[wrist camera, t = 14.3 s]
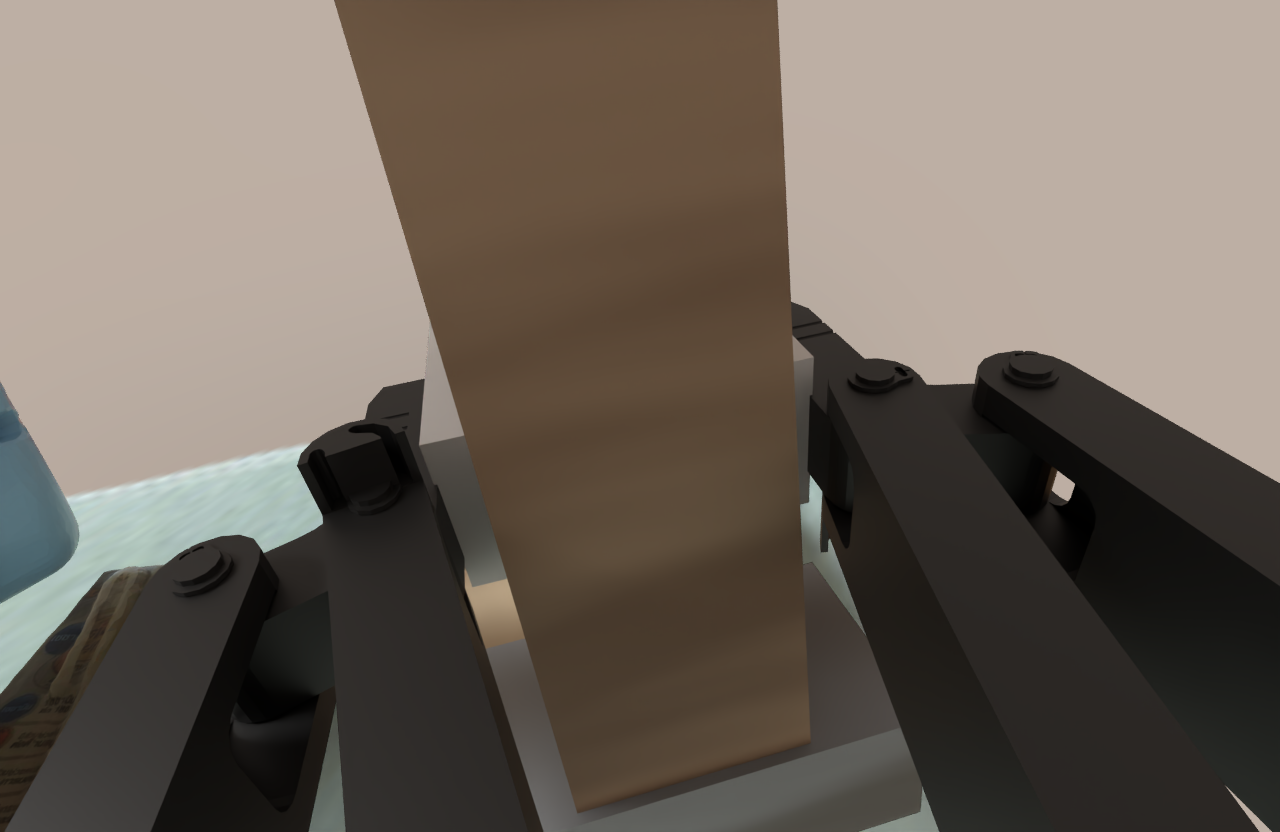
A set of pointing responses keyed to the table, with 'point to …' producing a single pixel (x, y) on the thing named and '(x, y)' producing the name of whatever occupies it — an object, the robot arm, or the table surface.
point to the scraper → (632, 404)
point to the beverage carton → (60, 680)
